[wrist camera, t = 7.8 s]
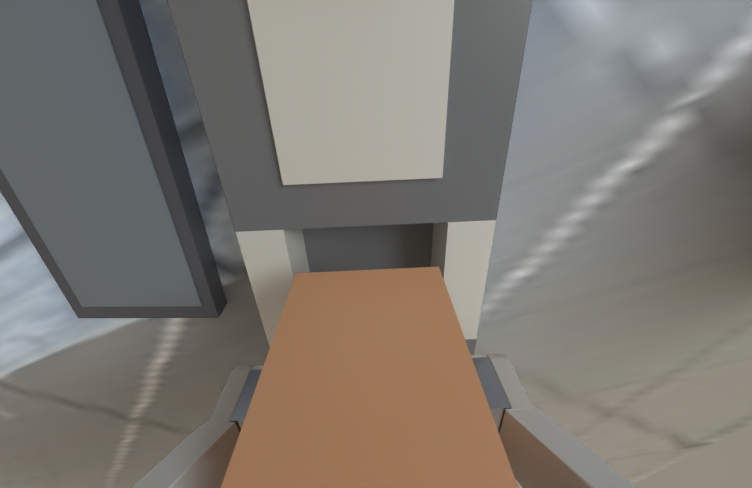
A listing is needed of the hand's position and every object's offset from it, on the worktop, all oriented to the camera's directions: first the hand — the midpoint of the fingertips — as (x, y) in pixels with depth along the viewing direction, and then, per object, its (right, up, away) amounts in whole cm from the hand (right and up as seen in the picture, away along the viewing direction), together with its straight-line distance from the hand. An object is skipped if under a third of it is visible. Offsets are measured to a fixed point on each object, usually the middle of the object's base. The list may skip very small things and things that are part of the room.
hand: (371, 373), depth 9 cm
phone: (-11, +7, +5) cm, 14 cm away
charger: (0, +1, +2) cm, 2 cm away
